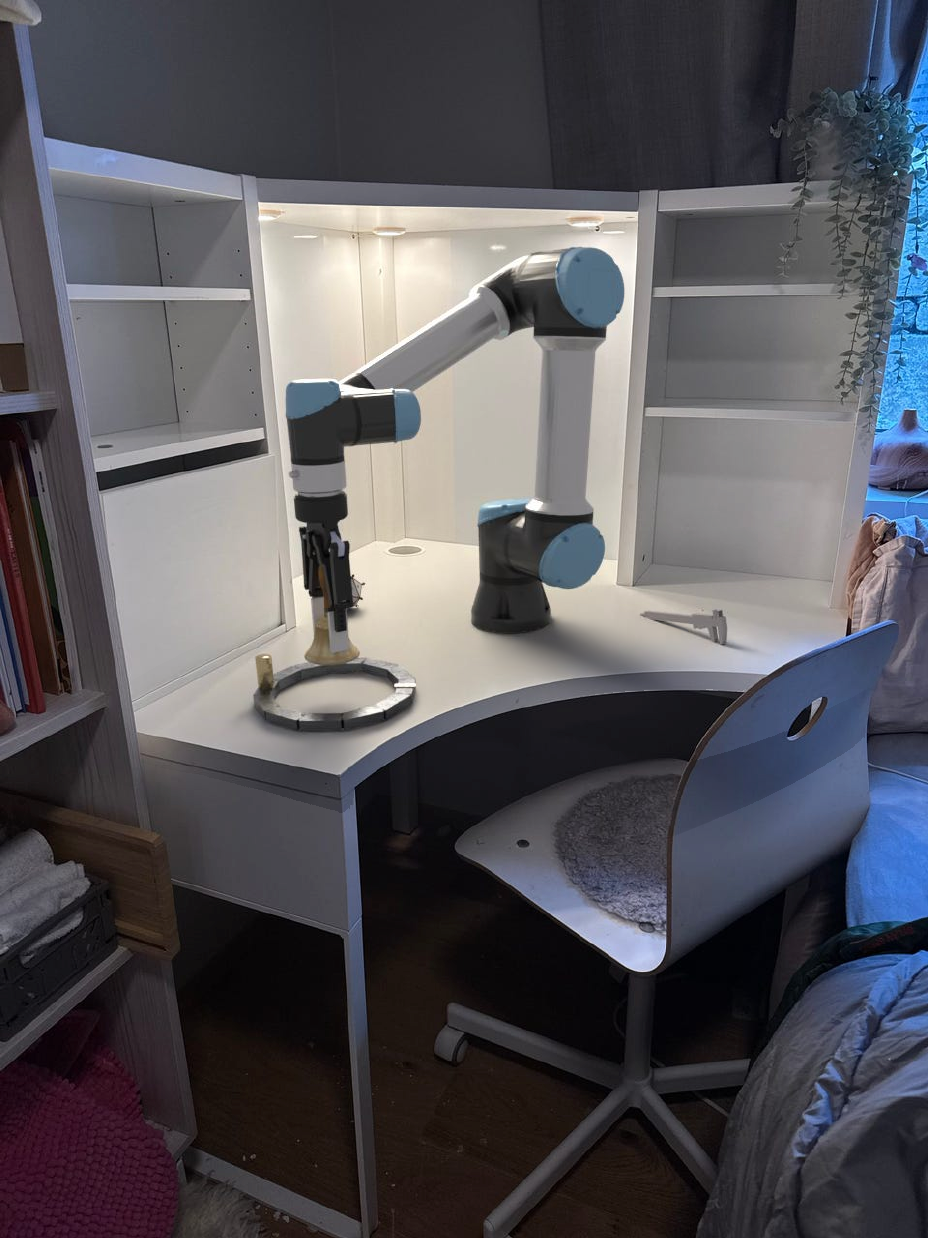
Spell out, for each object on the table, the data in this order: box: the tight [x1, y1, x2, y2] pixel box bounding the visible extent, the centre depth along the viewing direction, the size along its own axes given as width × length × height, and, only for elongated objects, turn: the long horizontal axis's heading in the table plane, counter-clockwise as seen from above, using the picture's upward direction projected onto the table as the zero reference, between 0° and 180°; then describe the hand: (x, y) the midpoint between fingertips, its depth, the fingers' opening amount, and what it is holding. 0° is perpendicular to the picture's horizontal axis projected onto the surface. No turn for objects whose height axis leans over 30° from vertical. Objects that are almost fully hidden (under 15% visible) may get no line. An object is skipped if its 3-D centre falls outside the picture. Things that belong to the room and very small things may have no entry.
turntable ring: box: [252, 653, 417, 732], centre depth 136 cm, size 24×24×7 cm
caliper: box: [639, 609, 728, 645], centre depth 161 cm, size 20×1×6 cm, turn 33°
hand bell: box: [303, 557, 361, 665], centre depth 132 cm, size 8×8×16 cm
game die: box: [347, 573, 366, 610], centre depth 176 cm, size 9×8×10 cm
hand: (331, 643), depth 134 cm, fingers closed on hand bell, 6 cm apart
